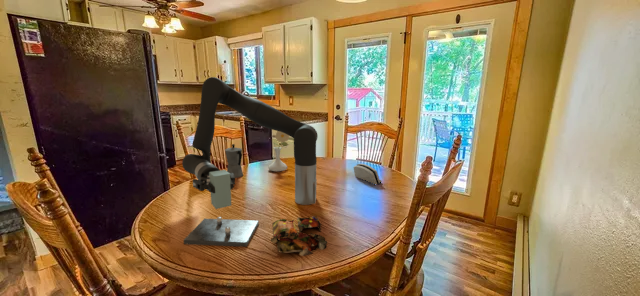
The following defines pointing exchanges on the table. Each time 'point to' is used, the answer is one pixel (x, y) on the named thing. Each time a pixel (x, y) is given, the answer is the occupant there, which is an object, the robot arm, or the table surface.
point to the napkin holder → (366, 173)
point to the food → (297, 236)
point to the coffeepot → (234, 161)
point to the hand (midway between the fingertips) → (223, 188)
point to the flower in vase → (278, 164)
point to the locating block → (220, 189)
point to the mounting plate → (222, 232)
